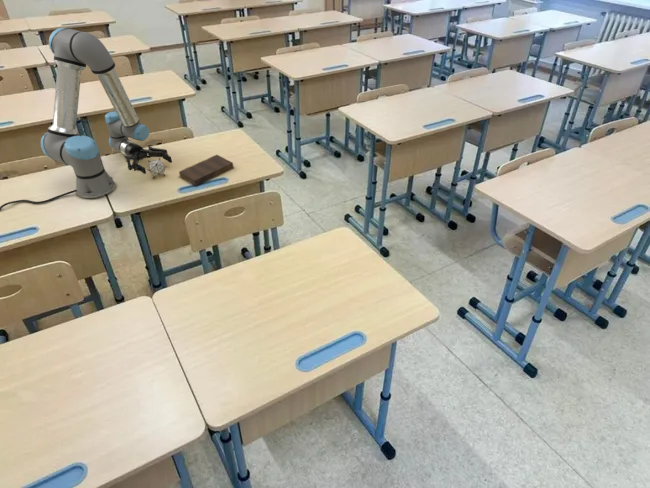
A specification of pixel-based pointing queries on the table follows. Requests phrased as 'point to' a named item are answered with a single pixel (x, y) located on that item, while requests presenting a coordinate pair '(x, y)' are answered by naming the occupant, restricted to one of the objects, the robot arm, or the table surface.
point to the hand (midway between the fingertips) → (158, 165)
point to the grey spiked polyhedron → (156, 168)
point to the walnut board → (206, 170)
